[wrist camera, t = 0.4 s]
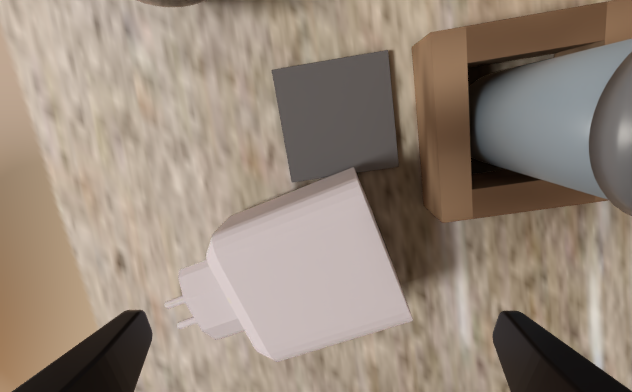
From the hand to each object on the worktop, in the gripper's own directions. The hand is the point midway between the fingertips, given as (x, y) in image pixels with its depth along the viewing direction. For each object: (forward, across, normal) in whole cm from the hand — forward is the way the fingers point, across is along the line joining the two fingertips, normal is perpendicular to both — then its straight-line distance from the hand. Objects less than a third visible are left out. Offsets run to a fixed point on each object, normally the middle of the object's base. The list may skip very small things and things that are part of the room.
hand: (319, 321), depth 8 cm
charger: (+12, +3, +8) cm, 15 cm away
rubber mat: (+14, -1, -2) cm, 15 cm away
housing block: (+14, -11, -2) cm, 18 cm away
